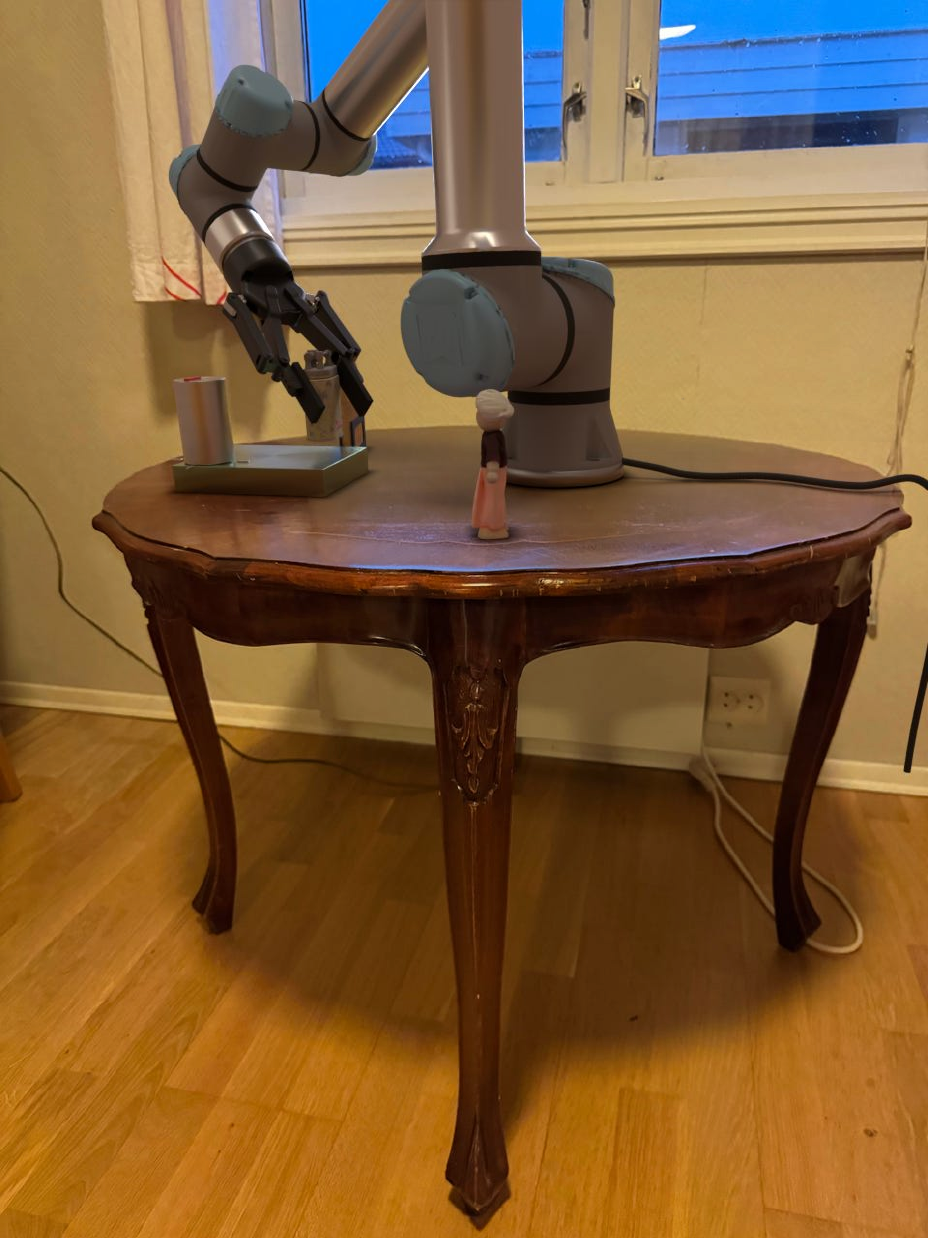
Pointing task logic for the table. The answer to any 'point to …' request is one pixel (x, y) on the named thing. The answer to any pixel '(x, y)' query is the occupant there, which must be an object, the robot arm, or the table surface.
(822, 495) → the table surface
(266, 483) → the panel
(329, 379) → the lighter
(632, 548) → the table surface
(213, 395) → the grey metal cylinder
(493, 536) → the grandmother figurine
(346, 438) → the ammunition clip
